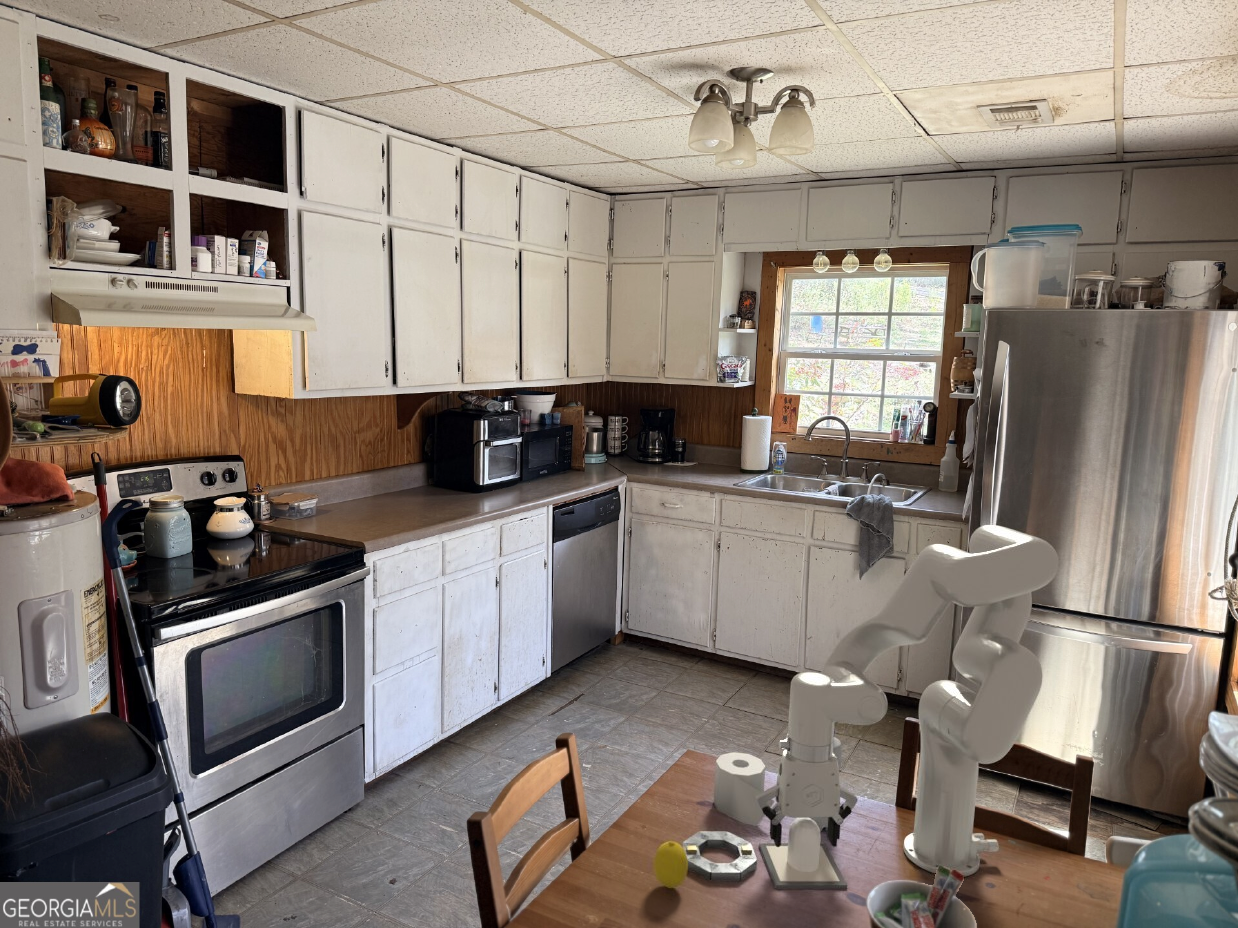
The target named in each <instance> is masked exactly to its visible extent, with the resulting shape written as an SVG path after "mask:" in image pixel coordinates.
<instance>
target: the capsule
mask: <svg viewBox="0 0 1238 928" xmlns="http://www.w3.org/2000/svg"><path fill="white" fill-rule="evenodd" d="M790 823H791V824H790V828H789V830H788V840H787V841H788V842H787V843H788V854H787V862H788V864H789V865H790V866H791V867H792V868H794V869H796V870H798V871H802V872H812V871H815V870H816V869H817V868H818V865H819V853H820V843H821V840H822V839H821V836H822V835H821V832H820V829H819V827H818V825H817V824H816V822H815V821H814V820H812V819H810V818H795V819H794V820H793V821H792V822H790Z"/></svg>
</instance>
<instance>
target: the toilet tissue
mask: <svg viewBox="0 0 1238 928" xmlns="http://www.w3.org/2000/svg"><path fill="white" fill-rule="evenodd" d="M714 771H715V774H714V794H713V804H714V806H715V808H716V809H717V812H720V813H723V814H724V815H726V816H728V817H730V818H732V819H734V820H736V821H738V822H740V823H741V824H744V825H745V824H746V825H749V826H750V825H751V826H753V827H757V826H758V825H759V824H760V822H761V821H763V820H762V819H763V818H764V817H765V816H766V815H765V814H764V813H763V811H762V809H761V807H760V805H759V803H758V801H757V799H756V795H757V794H759V793H761V792H763V791H765V780H766V779H765V778H766V765H765V764H764V762H763V761H762V759H761V758H758V757H756V756H754V755H752V754H750V753H742V752H735V751H734V752H733V751H732V752H729V753H724V754H720V755H719V757H718V758H717V759H716V760H715V770H714ZM775 802H776V800H773V799H771V800H769V801H767V805H768V806H769V807H770V808H772V807H773V805H774V803H775Z"/></svg>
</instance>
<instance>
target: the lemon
mask: <svg viewBox="0 0 1238 928" xmlns="http://www.w3.org/2000/svg"><path fill="white" fill-rule="evenodd" d="M688 871H689V870H688V860H687V855H686V852H685V850H684V849H683V847H682V844H680V843H678V842H676V841H673V840H670V841H666V842H664V843H662V844H661V845H660V846H659V847H658V849H656V851H655V855H654V859H653V872H654V875H655V877H656V880H657V881H658V882H659V883H660V884H661V885H662V886H664V887H666V888H668V889H673V888H675V887H678V886H680V885H681V884H683V882H684V881H685V879H686V878H687V875H688Z"/></svg>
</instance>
